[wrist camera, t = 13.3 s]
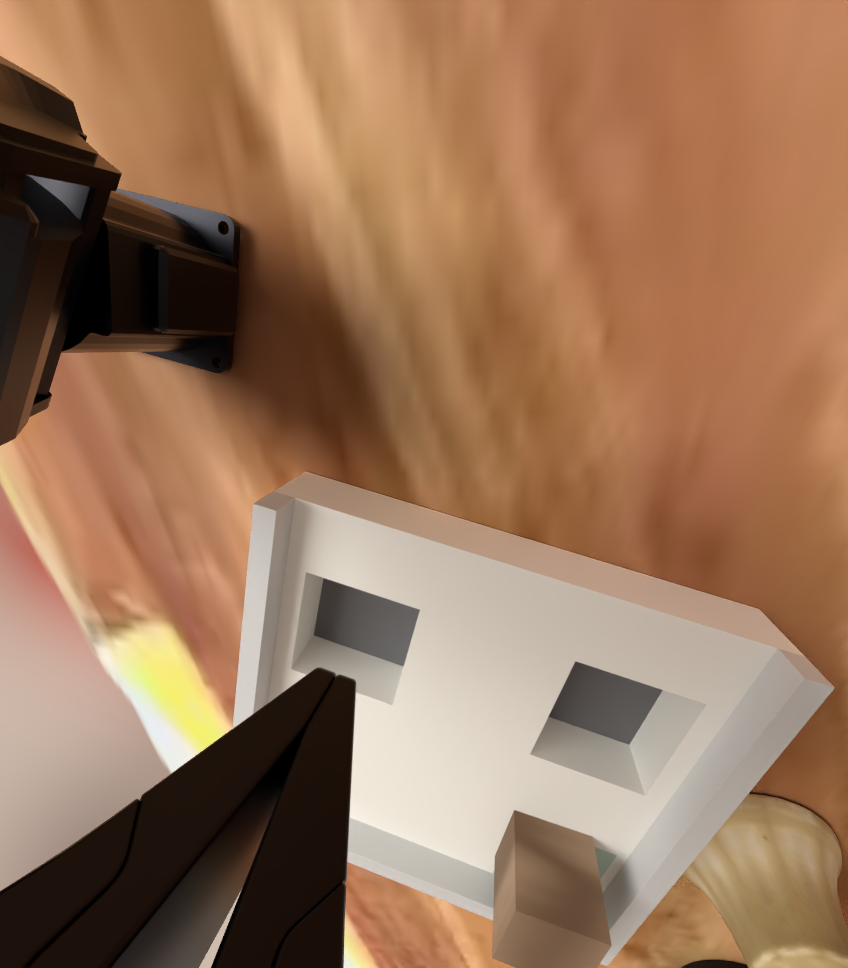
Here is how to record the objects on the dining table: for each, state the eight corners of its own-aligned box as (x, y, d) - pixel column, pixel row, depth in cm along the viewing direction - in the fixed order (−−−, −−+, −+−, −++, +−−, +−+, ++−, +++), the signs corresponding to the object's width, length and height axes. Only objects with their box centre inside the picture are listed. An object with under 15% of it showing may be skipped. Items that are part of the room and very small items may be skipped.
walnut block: (494, 856, 22) (492, 958, 19) (514, 809, 21) (515, 910, 17) (567, 881, 22) (580, 992, 18) (592, 836, 20) (611, 945, 17)
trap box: (267, 741, 27) (224, 812, 23) (305, 471, 20) (253, 503, 16) (590, 863, 25) (606, 966, 21) (759, 609, 18) (835, 687, 14)
